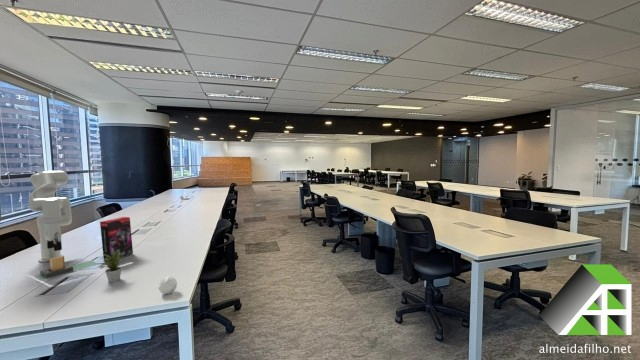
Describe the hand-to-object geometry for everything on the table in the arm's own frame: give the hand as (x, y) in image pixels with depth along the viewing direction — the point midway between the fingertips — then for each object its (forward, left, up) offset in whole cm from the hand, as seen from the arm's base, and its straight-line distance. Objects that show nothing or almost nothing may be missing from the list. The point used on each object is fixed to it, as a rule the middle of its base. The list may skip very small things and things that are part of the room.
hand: (54, 249), depth 158 cm
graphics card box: (0, +32, -16) cm, 36 cm away
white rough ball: (+83, +16, -16) cm, 86 cm away
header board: (-1, +6, -15) cm, 16 cm away
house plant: (+39, +12, -16) cm, 44 cm away
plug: (0, 0, -14) cm, 14 cm away
